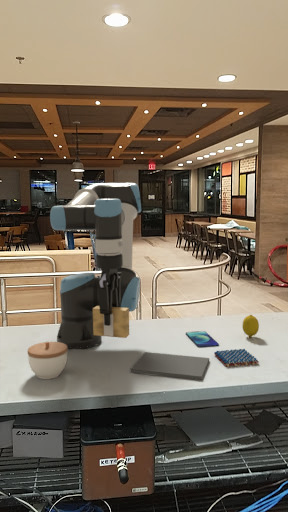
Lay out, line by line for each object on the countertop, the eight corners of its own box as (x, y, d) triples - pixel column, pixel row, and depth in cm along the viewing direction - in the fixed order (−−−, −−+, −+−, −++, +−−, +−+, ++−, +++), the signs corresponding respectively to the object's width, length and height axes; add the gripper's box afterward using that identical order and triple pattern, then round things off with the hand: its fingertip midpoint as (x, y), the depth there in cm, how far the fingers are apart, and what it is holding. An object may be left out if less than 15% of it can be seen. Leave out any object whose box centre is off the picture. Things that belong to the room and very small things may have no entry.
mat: (130, 372, 119) (130, 368, 119) (145, 355, 132) (145, 352, 132) (201, 380, 113) (201, 376, 113) (209, 361, 127) (209, 358, 126)
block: (93, 335, 124) (92, 308, 123) (97, 331, 127) (96, 305, 125) (125, 338, 121) (125, 310, 120) (129, 334, 124) (128, 307, 123)
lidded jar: (70, 366, 124) (69, 335, 122) (64, 382, 113) (63, 348, 112) (33, 367, 123) (32, 336, 122) (24, 383, 113) (22, 349, 112)
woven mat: (260, 366, 124) (260, 359, 123) (225, 369, 122) (225, 362, 121) (245, 353, 134) (245, 347, 134) (213, 356, 132) (213, 350, 132)
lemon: (239, 335, 150) (239, 313, 149) (251, 333, 152) (252, 312, 151) (248, 340, 145) (249, 317, 144) (262, 338, 147) (262, 315, 146)
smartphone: (197, 346, 139) (184, 332, 153) (197, 349, 139) (184, 334, 153) (219, 344, 140) (204, 330, 155) (219, 347, 140) (204, 333, 155)
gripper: (111, 258, 112) (113, 343, 115) (130, 250, 127) (132, 326, 130) (85, 257, 114) (87, 341, 117) (107, 249, 129) (109, 324, 132)
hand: (111, 333), depth 124 cm, fingers closed on block, 3 cm apart
